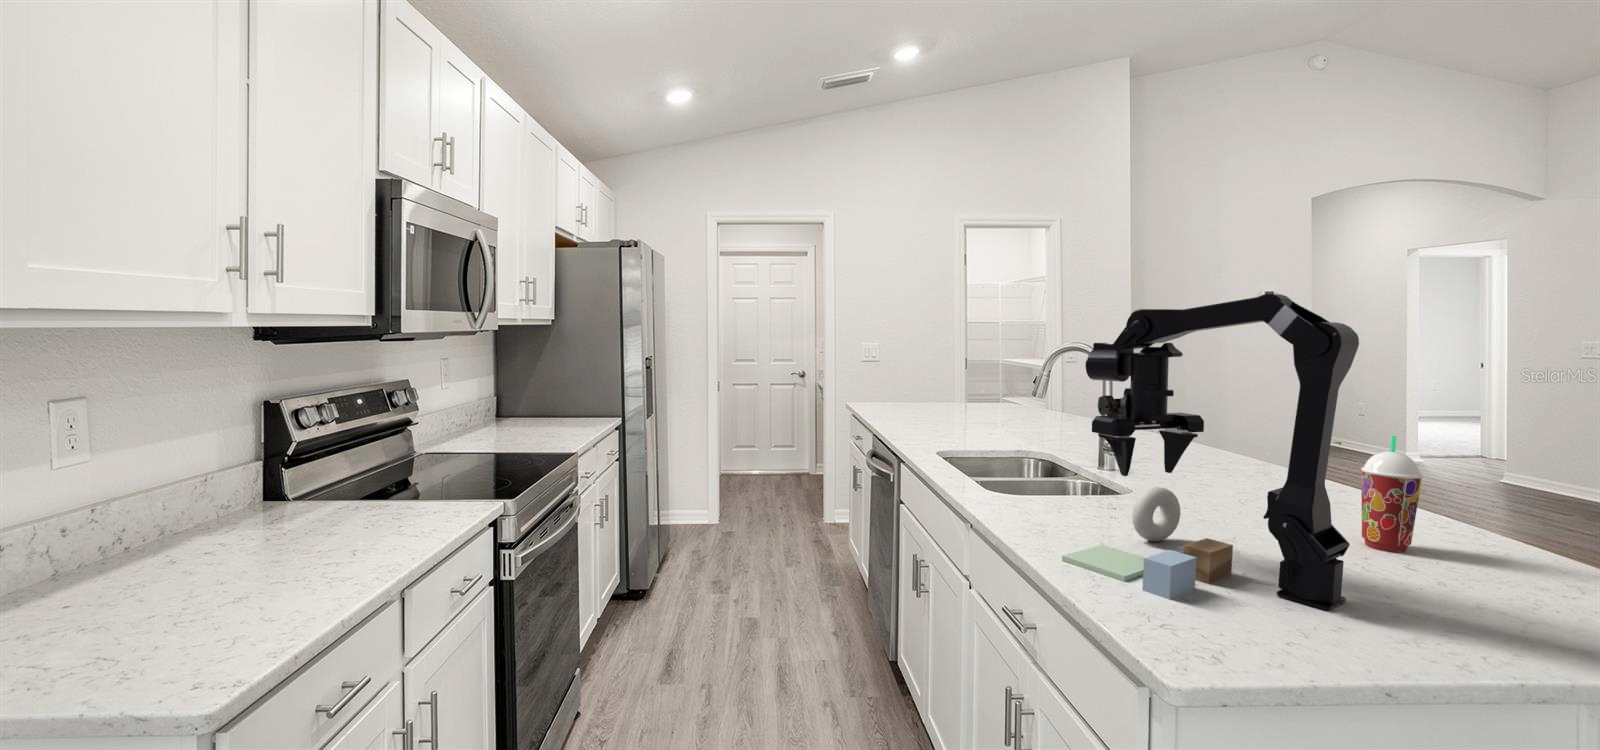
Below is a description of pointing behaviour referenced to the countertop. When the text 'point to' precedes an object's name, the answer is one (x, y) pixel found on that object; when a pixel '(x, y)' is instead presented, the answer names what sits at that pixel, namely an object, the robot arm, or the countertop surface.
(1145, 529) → the donut
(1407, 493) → the smoothie
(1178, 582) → the slate brick
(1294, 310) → the robot arm
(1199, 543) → the walnut brick
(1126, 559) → the baseplate
